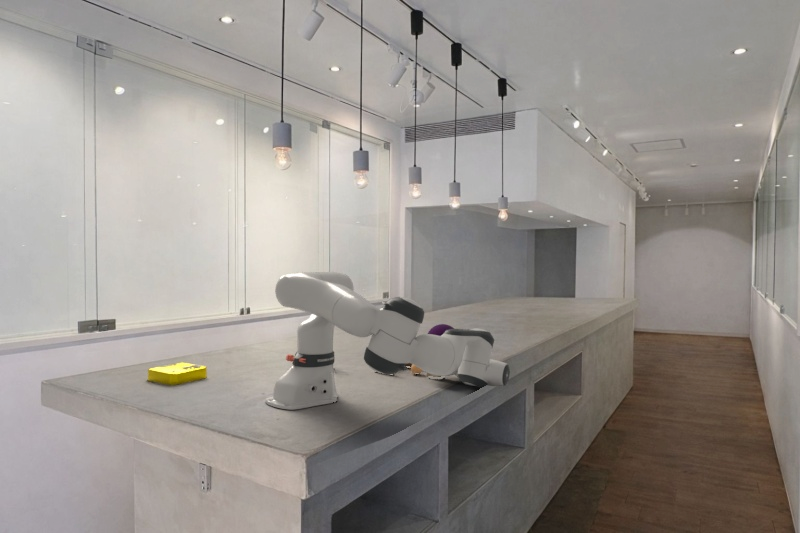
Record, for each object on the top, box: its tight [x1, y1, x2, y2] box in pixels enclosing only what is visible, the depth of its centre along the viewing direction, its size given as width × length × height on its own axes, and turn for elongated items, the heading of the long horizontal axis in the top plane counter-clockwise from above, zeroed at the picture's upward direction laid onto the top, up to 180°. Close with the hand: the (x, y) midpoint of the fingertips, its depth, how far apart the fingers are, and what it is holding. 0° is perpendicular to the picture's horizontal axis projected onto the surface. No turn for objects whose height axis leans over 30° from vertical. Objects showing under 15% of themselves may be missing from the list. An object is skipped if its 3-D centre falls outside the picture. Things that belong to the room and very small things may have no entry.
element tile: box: [147, 362, 208, 386], centre depth 190 cm, size 15×15×5 cm
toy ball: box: [427, 323, 455, 336], centre depth 234 cm, size 15×15×15 cm
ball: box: [410, 364, 424, 374], centre depth 201 cm, size 4×4×4 cm
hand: (434, 362), depth 196 cm, fingers open, 8 cm apart
